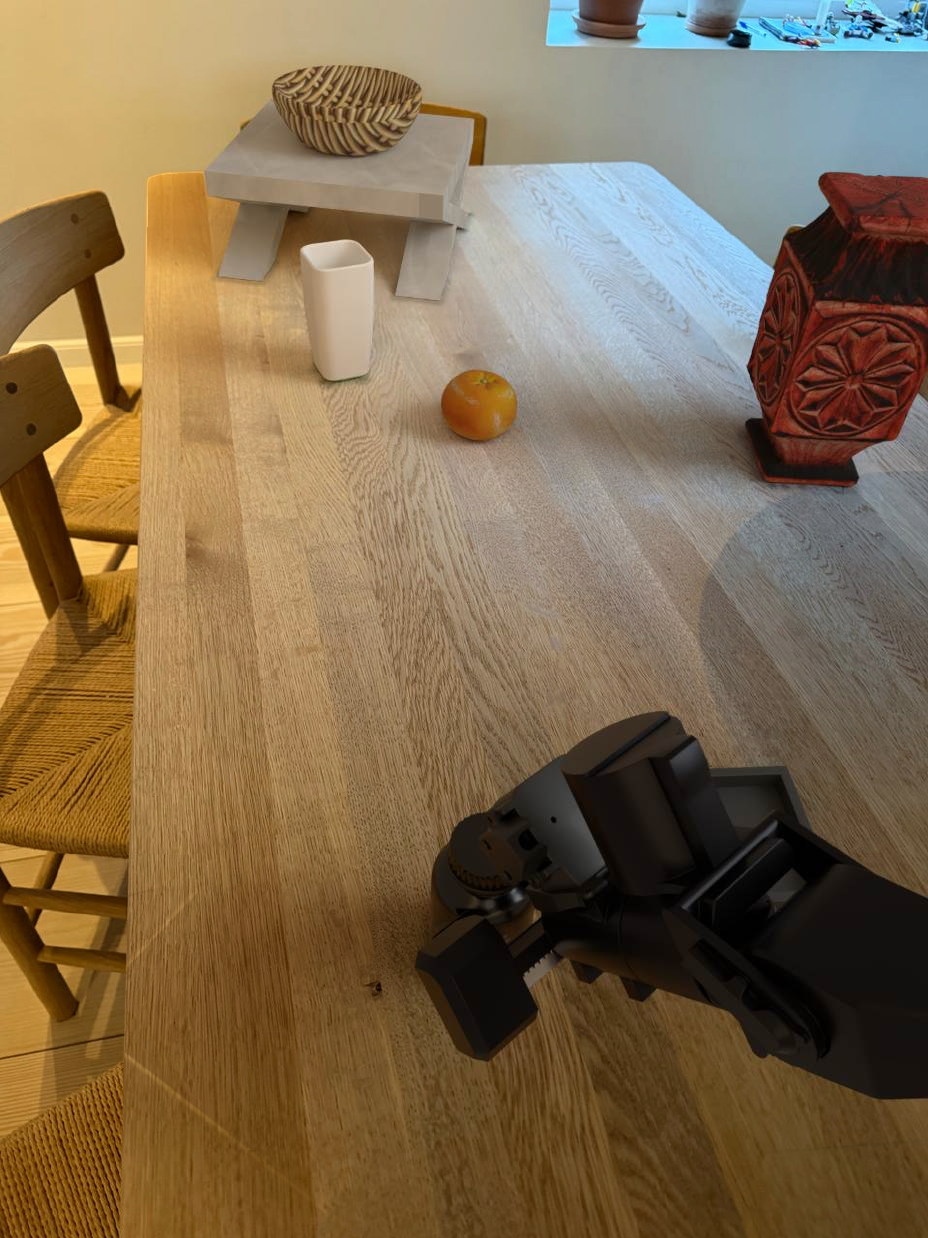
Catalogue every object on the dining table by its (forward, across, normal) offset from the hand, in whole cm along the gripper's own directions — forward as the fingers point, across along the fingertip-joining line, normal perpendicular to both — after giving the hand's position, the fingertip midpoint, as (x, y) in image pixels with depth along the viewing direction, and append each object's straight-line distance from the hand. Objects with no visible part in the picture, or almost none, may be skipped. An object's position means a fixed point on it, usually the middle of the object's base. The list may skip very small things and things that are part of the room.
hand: (494, 885), depth 60 cm
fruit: (+40, -42, -28) cm, 65 cm away
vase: (+21, -68, -9) cm, 72 cm away
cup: (+54, -37, -42) cm, 78 cm away
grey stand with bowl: (+76, -61, -63) cm, 116 cm away
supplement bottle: (+7, 0, +6) cm, 9 cm away
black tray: (+2, -20, +10) cm, 22 cm away
